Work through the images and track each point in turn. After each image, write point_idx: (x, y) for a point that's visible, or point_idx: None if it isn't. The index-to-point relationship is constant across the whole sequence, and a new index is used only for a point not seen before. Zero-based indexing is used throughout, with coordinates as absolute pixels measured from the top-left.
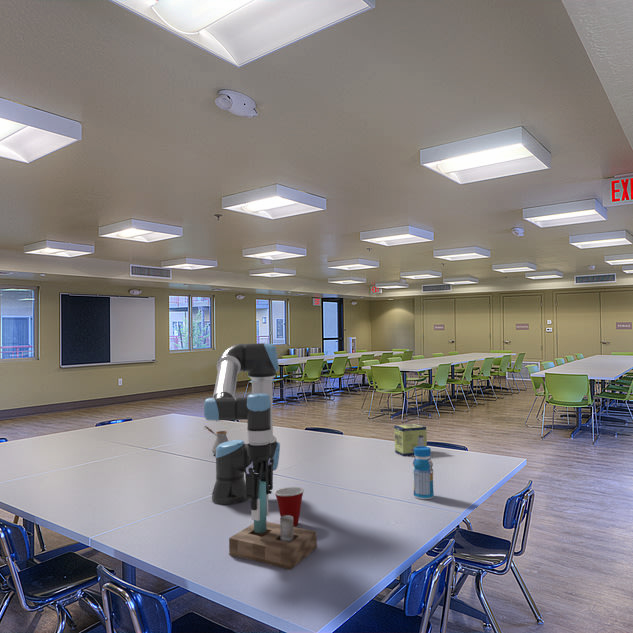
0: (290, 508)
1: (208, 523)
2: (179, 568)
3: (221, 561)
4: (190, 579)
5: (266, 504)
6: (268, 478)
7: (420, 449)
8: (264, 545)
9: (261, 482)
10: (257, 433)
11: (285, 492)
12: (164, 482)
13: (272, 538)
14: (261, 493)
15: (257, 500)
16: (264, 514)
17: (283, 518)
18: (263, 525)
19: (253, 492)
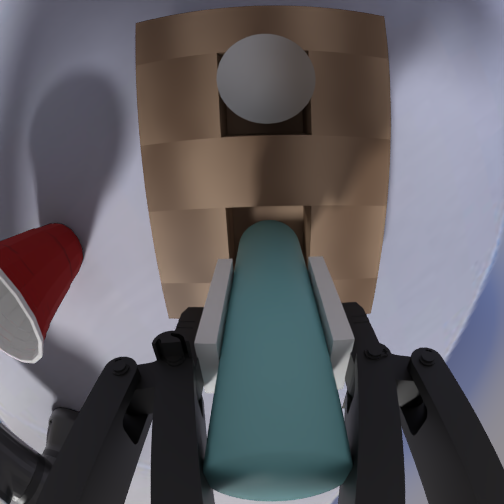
0: (39, 256)
1: (207, 422)
2: (447, 329)
3: (399, 272)
4: (485, 273)
5: (226, 299)
6: (113, 462)
7: None
8: (386, 144)
9: (272, 474)
10: None
11: (1, 330)
12: (136, 498)
13: (307, 150)
14: (319, 370)
15: (349, 340)
16: (279, 257)
17: (292, 89)
18: (283, 234)
19: (445, 391)
